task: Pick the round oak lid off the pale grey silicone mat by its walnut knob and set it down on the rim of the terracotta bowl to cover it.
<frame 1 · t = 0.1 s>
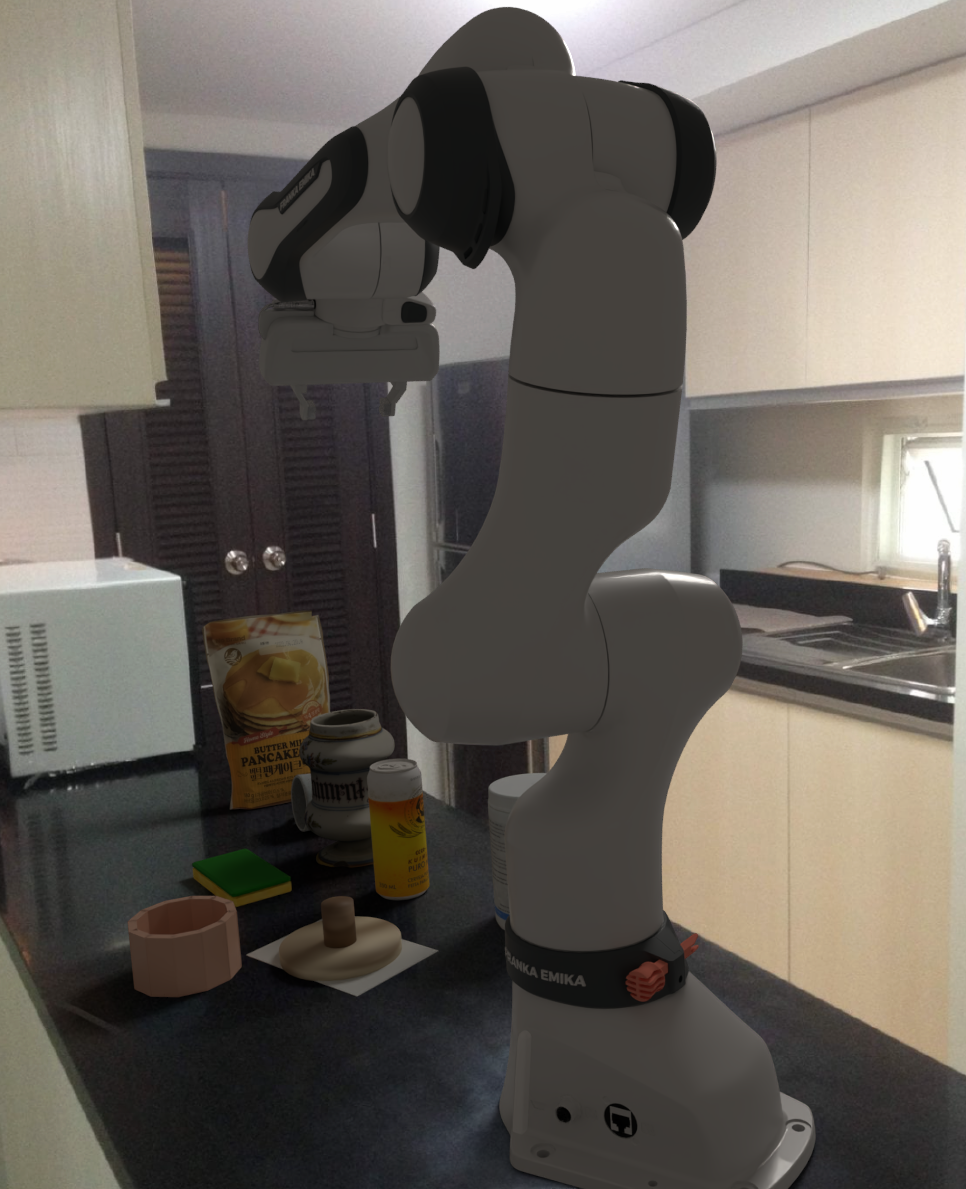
hand: (347, 416, 125), 54 cm above the worktop, tool tilted 30°, fingers open, 8 cm apart
dish sponge: (241, 890, 129), on the worktop
ceramic mug: (323, 824, 150), on the worktop
supplement tub: (541, 923, 112), on the worktop
mat: (341, 956, 107), on the worktop
pancake mix bag: (281, 799, 164), on the worktop
apothecary jar: (356, 857, 136), on the worktop
lid: (341, 953, 107), resting on mat
bowl: (188, 975, 105), on the worktop
beer can: (403, 895, 123), on the worktop
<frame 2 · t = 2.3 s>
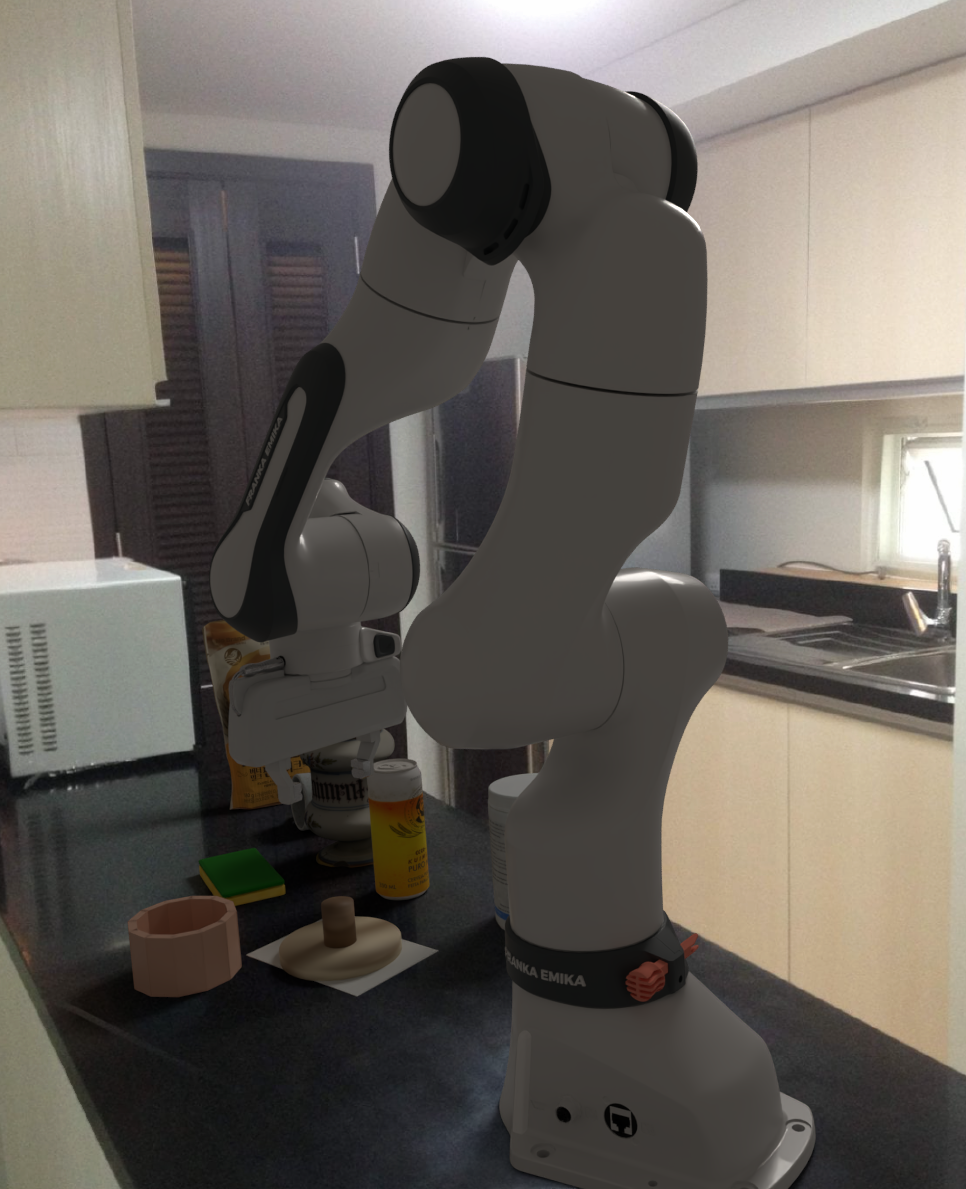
hand: (328, 789, 105), 17 cm above the worktop, tool pointing down, fingers open, 8 cm apart
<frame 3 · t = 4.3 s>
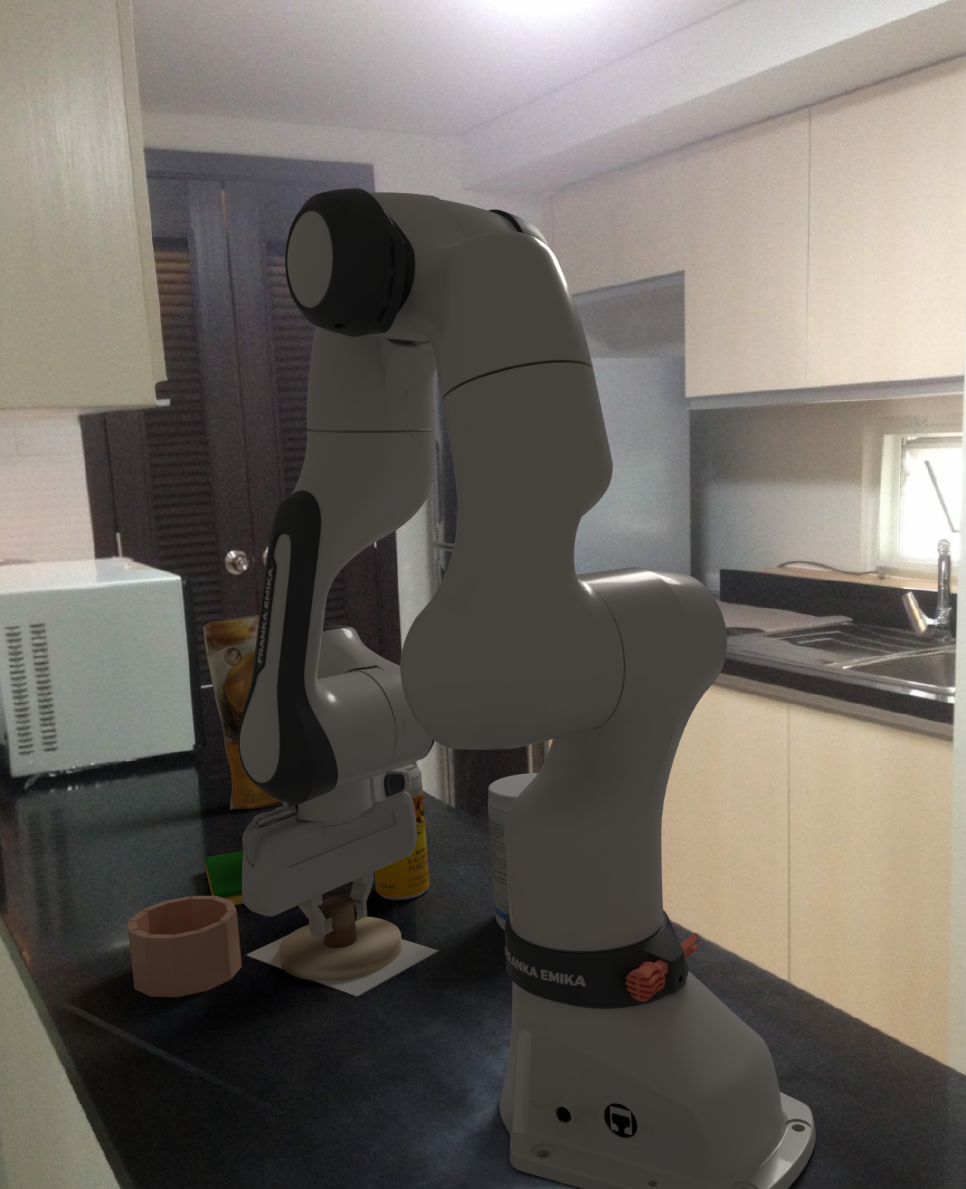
hand: (339, 926, 107), 3 cm above the worktop, tool pointing down, fingers closed on lid, 3 cm apart
lid: (341, 952, 107), resting on mat, touching gripper
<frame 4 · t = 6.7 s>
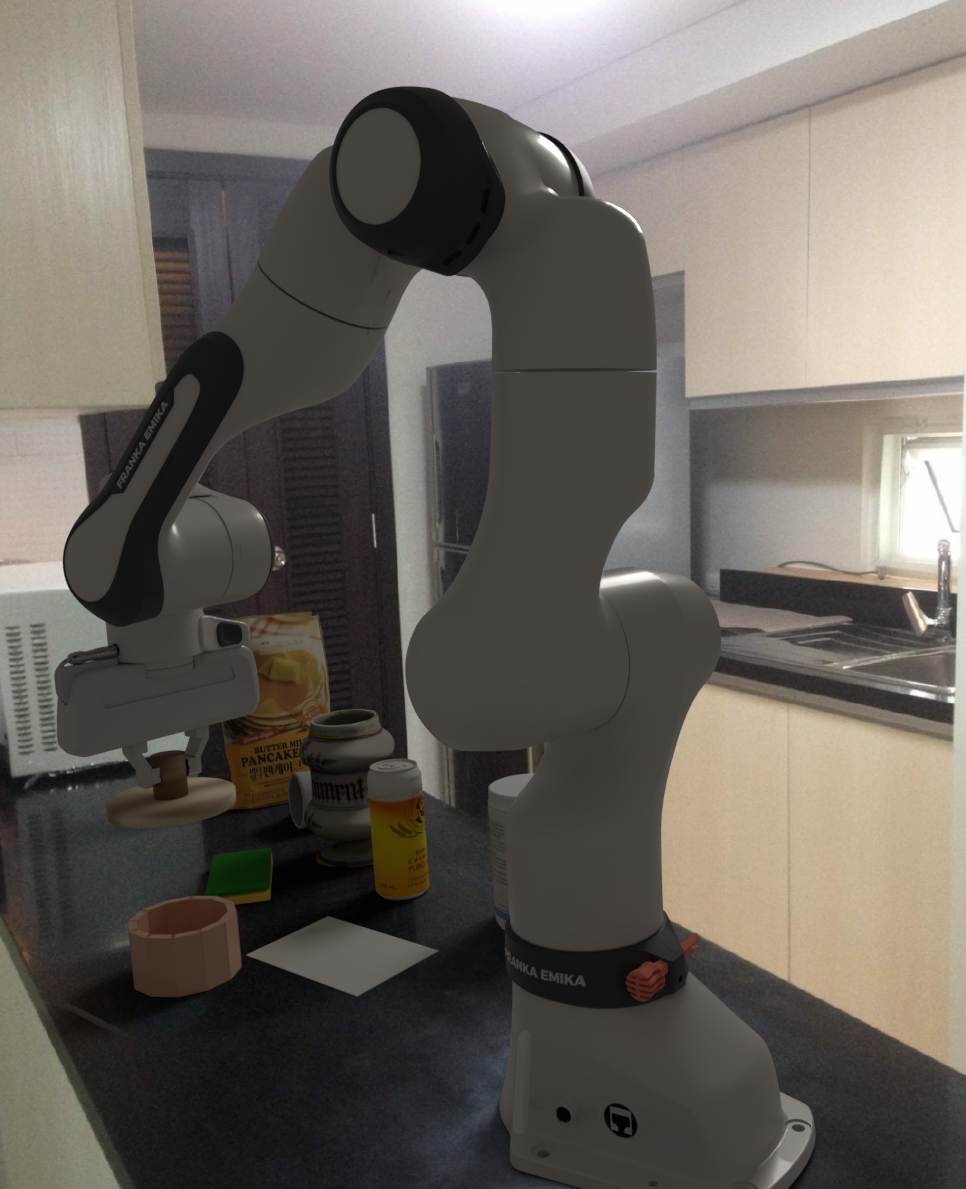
hand: (170, 780, 103), 19 cm above the worktop, tool pointing down, fingers closed on lid, 3 cm apart
lid: (172, 807, 104), point 17 cm above the worktop, touching gripper
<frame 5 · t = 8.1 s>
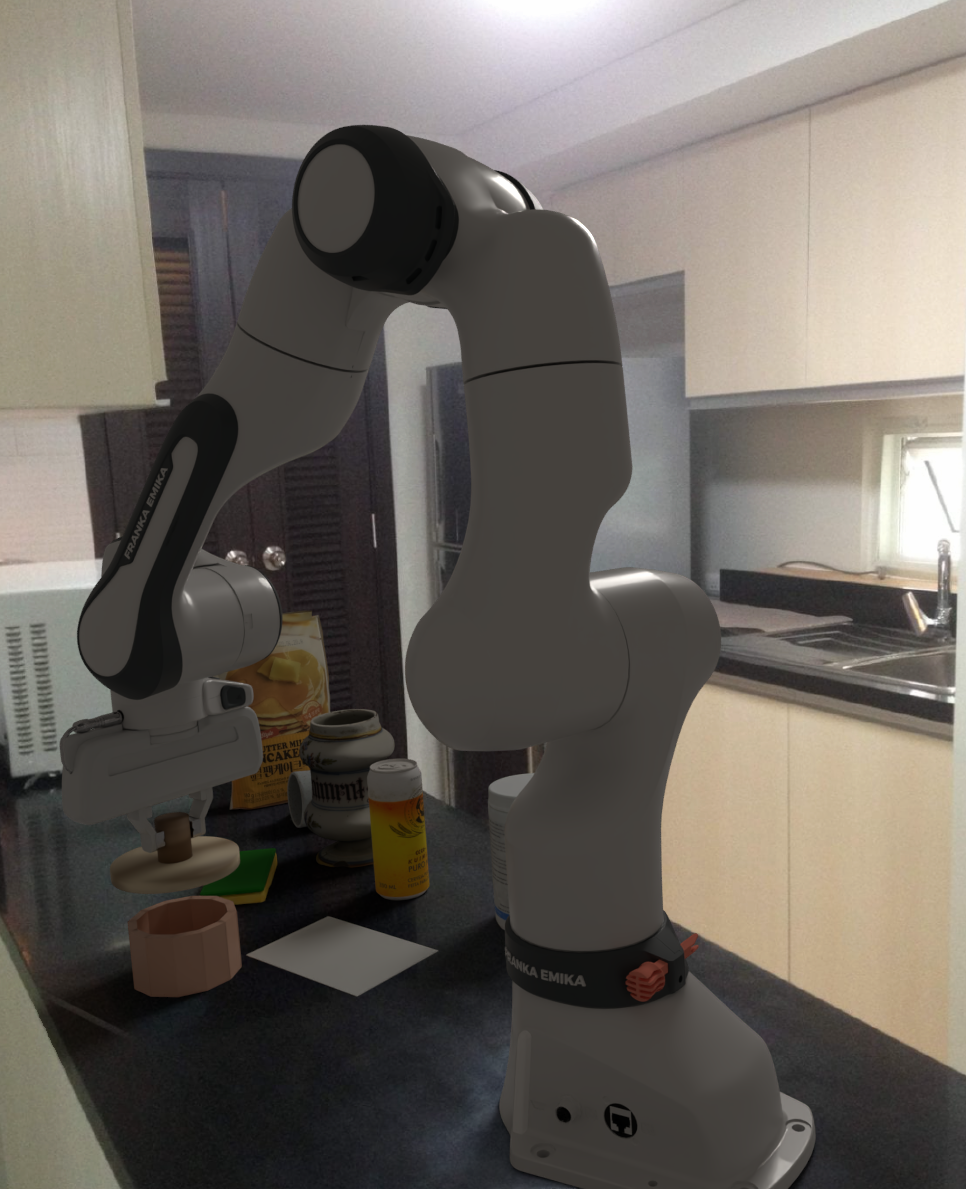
hand: (174, 842, 104), 13 cm above the worktop, tool pointing down, fingers closed on lid, 3 cm apart
lid: (176, 869, 104), point 11 cm above the worktop, touching gripper
when the fingers open (10 cm above the worktop, at t = 9.1 s): lid drops 1 cm, resting on bowl.
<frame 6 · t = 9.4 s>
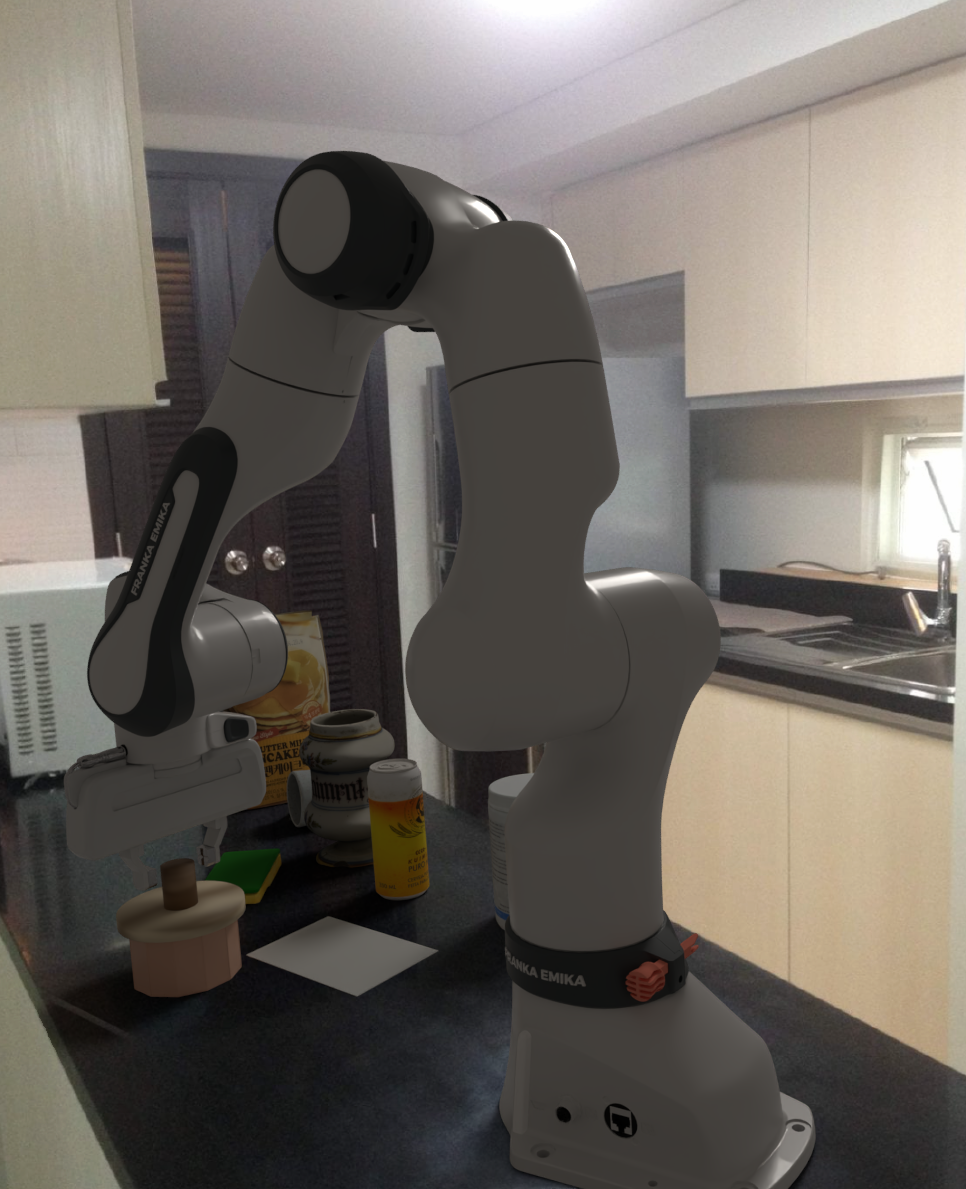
hand: (178, 875, 104), 10 cm above the worktop, tool pointing down, fingers open, 6 cm apart
lid: (182, 916, 105), point 6 cm above the worktop, touching bowl
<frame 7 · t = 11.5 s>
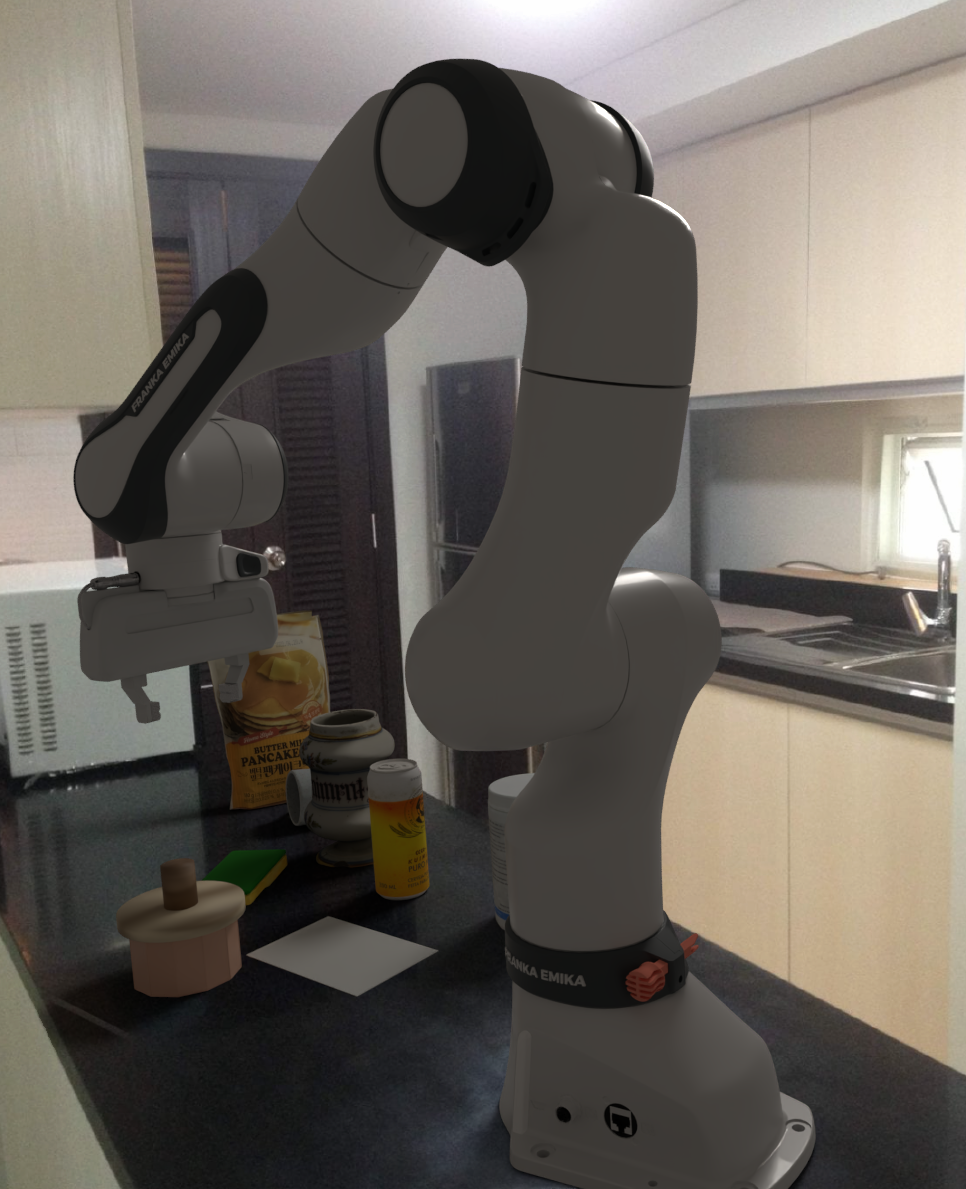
hand: (191, 711, 104), 26 cm above the worktop, tool pointing down, fingers open, 8 cm apart
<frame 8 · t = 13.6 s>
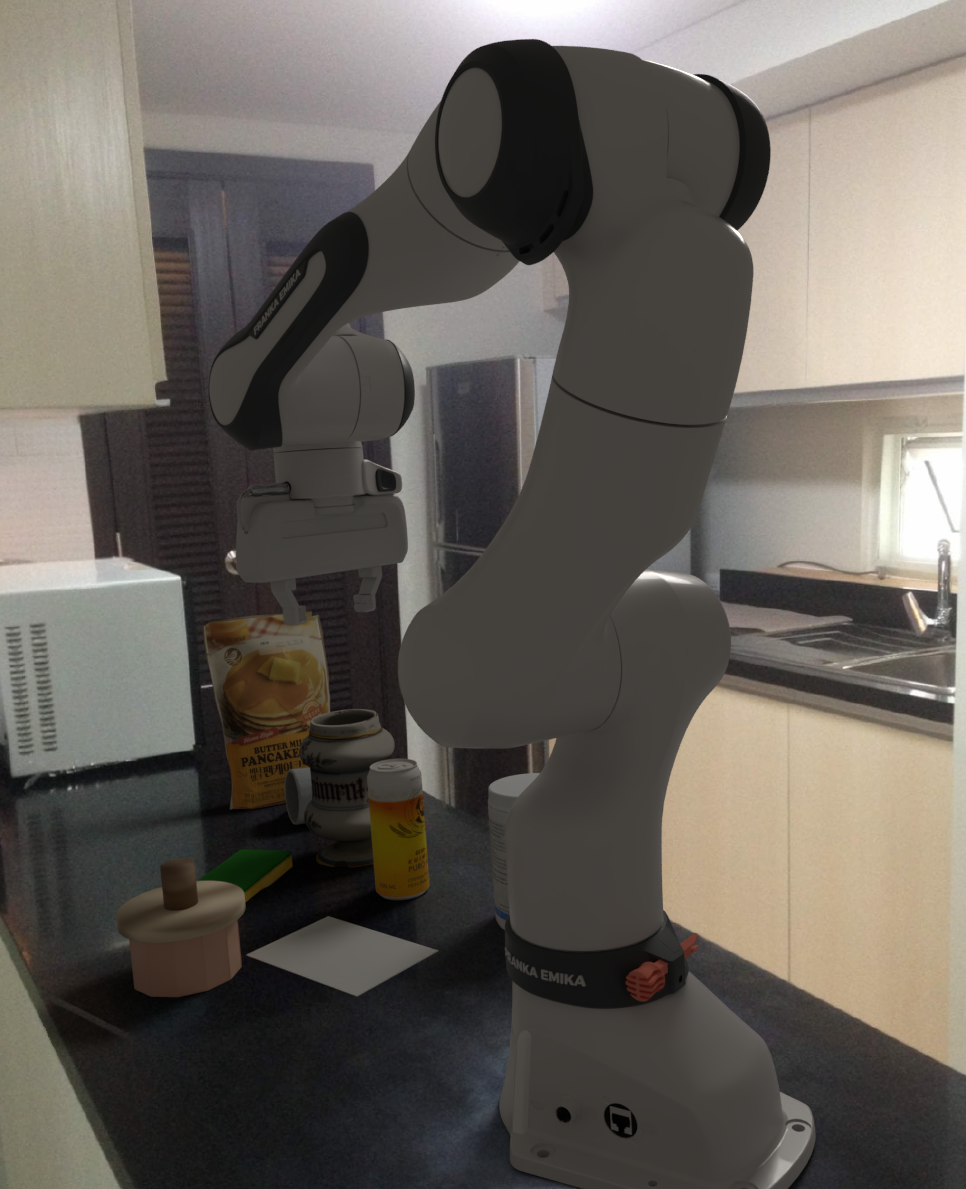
hand: (331, 617, 109), 33 cm above the worktop, tool pointing down, fingers open, 8 cm apart
at the end: lid 0.0 cm from the bowl (horizontally); lid point 6.0 cm above the worktop; lid tilted 0° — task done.
